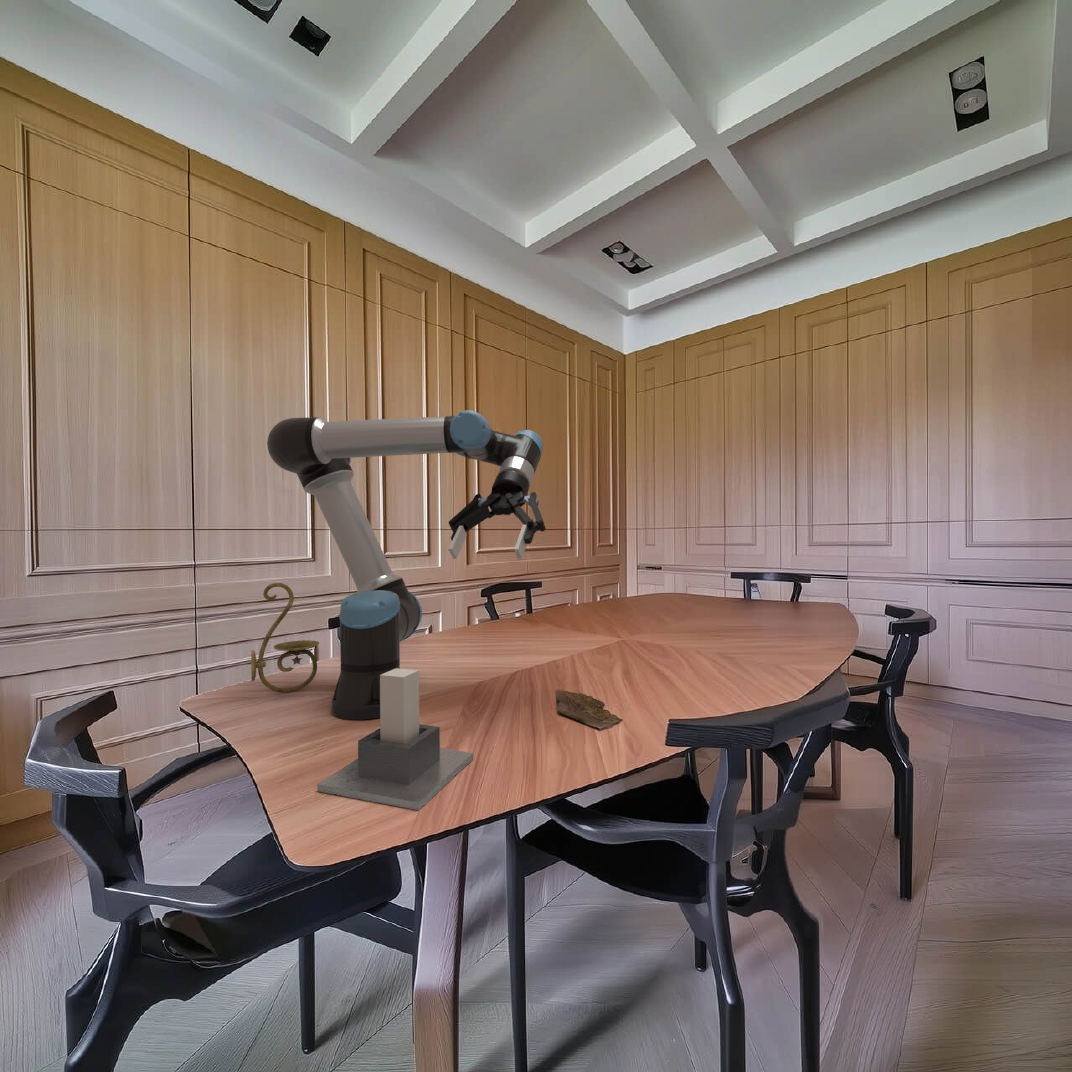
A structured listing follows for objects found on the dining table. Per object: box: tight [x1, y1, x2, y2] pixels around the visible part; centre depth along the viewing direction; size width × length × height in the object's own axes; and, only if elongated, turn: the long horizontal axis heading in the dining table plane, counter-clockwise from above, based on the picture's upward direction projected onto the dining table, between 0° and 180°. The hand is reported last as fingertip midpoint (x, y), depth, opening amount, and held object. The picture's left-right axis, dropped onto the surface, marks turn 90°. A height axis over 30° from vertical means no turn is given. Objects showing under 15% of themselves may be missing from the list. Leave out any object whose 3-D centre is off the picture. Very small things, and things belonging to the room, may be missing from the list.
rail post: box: [379, 668, 420, 744], centre depth 76 cm, size 4×4×14 cm
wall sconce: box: [250, 582, 320, 693], centre depth 117 cm, size 14×10×25 cm
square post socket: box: [316, 723, 474, 811], centre depth 76 cm, size 16×16×6 cm
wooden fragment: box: [555, 689, 623, 732], centre depth 105 cm, size 26×11×1 cm, turn 13°
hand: (484, 554), depth 98 cm, fingers open, 13 cm apart
